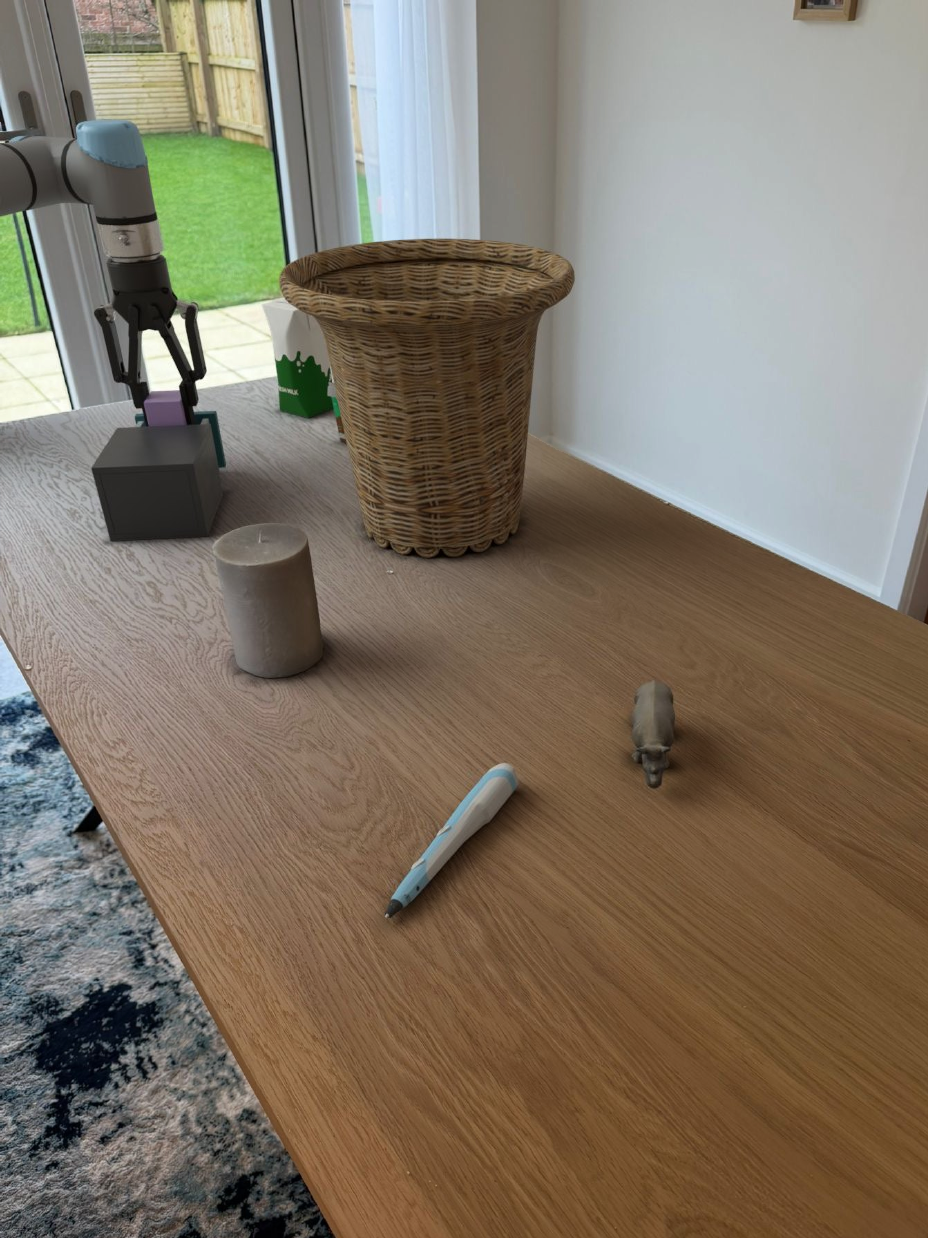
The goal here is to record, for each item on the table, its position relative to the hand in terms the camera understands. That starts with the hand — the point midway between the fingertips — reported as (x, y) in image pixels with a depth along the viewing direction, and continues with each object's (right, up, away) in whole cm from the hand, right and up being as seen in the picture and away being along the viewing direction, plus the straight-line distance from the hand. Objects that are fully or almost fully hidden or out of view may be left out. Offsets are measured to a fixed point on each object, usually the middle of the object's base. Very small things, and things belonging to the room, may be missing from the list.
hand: (172, 428), depth 147 cm
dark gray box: (+1, -13, -4) cm, 14 cm away
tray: (0, -6, +5) cm, 8 cm away
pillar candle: (+24, -35, -34) cm, 54 cm away
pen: (+45, -52, -60) cm, 92 cm away
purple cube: (0, 0, 0) cm, 0 cm away
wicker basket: (+40, -15, -7) cm, 43 cm away
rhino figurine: (+63, -45, -50) cm, 93 cm away
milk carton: (+13, +12, +32) cm, 37 cm away
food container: (+26, +4, +20) cm, 33 cm away
